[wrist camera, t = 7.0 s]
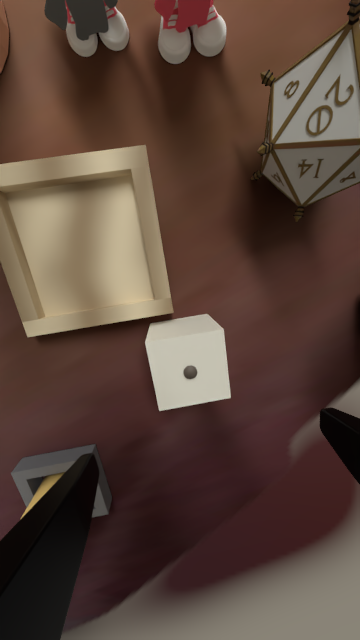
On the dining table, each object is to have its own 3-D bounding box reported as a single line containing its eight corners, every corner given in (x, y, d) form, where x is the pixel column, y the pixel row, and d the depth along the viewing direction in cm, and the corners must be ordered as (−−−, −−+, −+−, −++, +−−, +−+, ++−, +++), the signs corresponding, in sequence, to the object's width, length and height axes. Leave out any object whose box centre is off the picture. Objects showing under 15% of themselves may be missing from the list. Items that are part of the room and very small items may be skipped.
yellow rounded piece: (82, 464, 19) (61, 512, 15) (94, 499, 20) (77, 552, 16) (35, 474, 19) (2, 524, 15) (49, 508, 20) (22, 564, 16)
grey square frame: (95, 444, 19) (89, 457, 18) (112, 497, 21) (108, 514, 20) (22, 457, 19) (10, 473, 18) (45, 511, 21) (36, 529, 19)
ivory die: (207, 313, 17) (224, 329, 12) (213, 365, 19) (231, 399, 14) (148, 323, 17) (142, 343, 12) (158, 375, 18) (156, 413, 13)
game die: (267, 207, 19) (307, 269, 13) (213, 120, 15) (234, 149, 8) (383, 114, 14) (540, 139, 8) (355, -59, 10) (663, -312, 3)
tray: (147, 157, 14) (145, 144, 13) (172, 309, 17) (173, 312, 16) (-13, 179, 14) (-33, 168, 12) (39, 331, 17) (27, 337, 15)
